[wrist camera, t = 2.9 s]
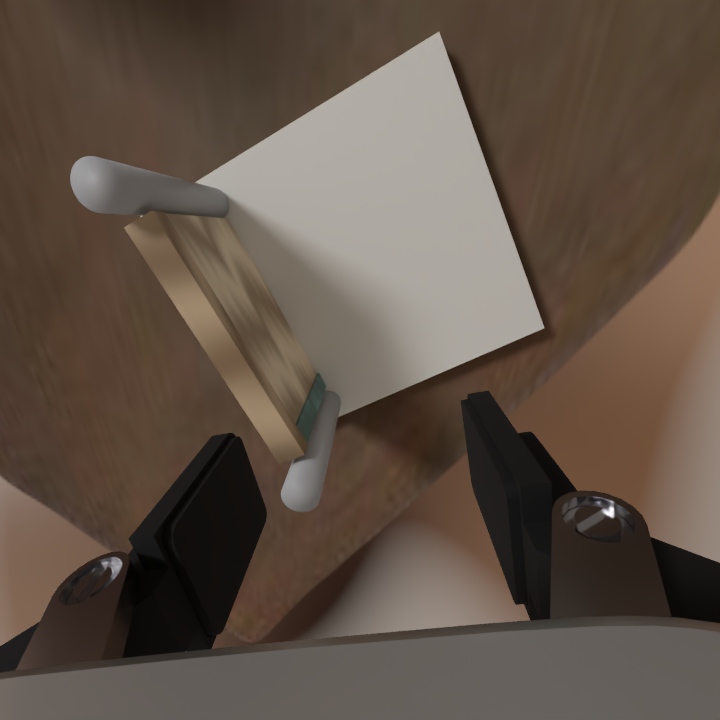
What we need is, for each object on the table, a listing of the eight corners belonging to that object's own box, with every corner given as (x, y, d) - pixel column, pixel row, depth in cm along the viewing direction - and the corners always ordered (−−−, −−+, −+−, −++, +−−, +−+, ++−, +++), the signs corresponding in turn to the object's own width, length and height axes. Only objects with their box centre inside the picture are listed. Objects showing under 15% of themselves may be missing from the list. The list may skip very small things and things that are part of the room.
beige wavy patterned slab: (212, 227, 29) (122, 225, 19) (231, 216, 29) (150, 208, 19) (310, 393, 34) (280, 464, 23) (327, 385, 34) (304, 454, 23)
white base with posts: (150, 217, 31) (-26, 206, 18) (435, 42, 26) (497, -160, 13) (286, 433, 38) (234, 548, 24) (537, 323, 33) (651, 390, 19)
